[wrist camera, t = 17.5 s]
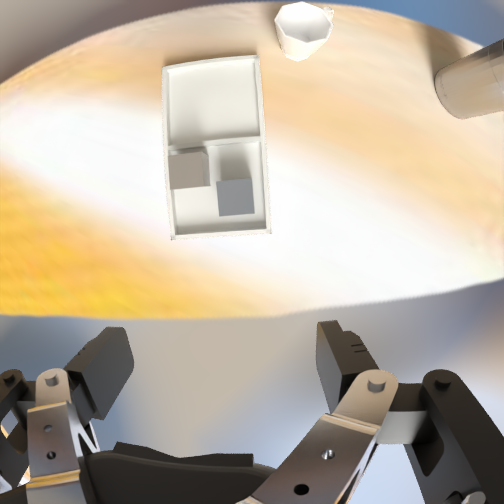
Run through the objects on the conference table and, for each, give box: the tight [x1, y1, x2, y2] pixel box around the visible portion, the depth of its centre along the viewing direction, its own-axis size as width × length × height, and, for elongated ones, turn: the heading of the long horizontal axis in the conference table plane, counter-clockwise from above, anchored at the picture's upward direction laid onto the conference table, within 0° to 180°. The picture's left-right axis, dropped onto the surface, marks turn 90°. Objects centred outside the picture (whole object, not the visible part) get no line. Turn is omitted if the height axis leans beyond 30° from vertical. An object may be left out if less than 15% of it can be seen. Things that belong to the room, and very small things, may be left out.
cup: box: [274, 1, 334, 61], centre depth 28 cm, size 7×10×8 cm
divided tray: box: [162, 55, 272, 240], centre depth 35 cm, size 13×24×2 cm, turn 4°
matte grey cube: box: [216, 178, 255, 217], centre depth 34 cm, size 4×4×5 cm
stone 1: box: [168, 152, 211, 190], centre depth 34 cm, size 4×4×5 cm
